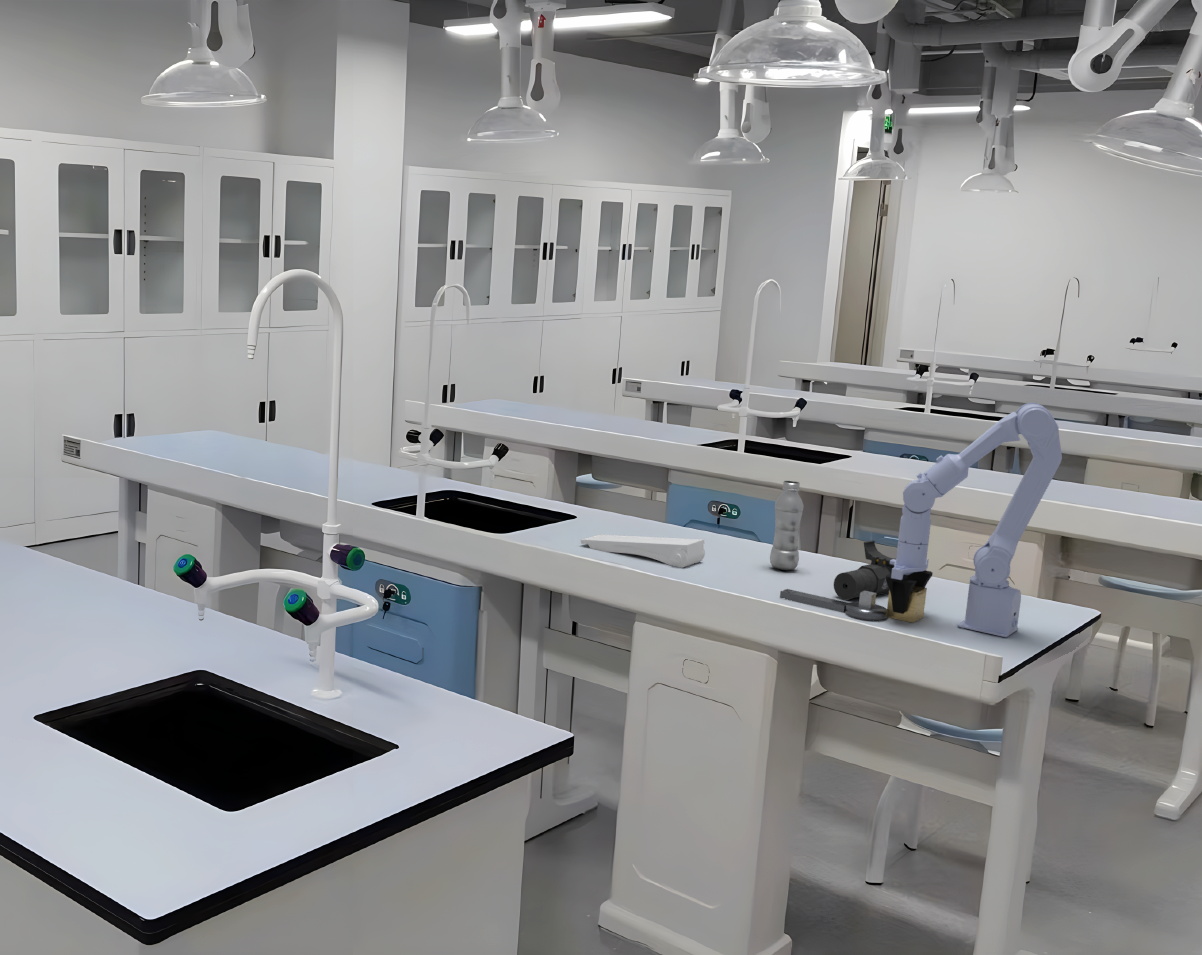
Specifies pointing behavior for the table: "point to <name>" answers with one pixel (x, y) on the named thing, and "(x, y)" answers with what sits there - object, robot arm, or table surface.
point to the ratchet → (842, 604)
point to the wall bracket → (652, 548)
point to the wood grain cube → (910, 606)
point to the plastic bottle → (787, 527)
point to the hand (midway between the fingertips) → (905, 609)
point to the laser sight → (865, 575)
